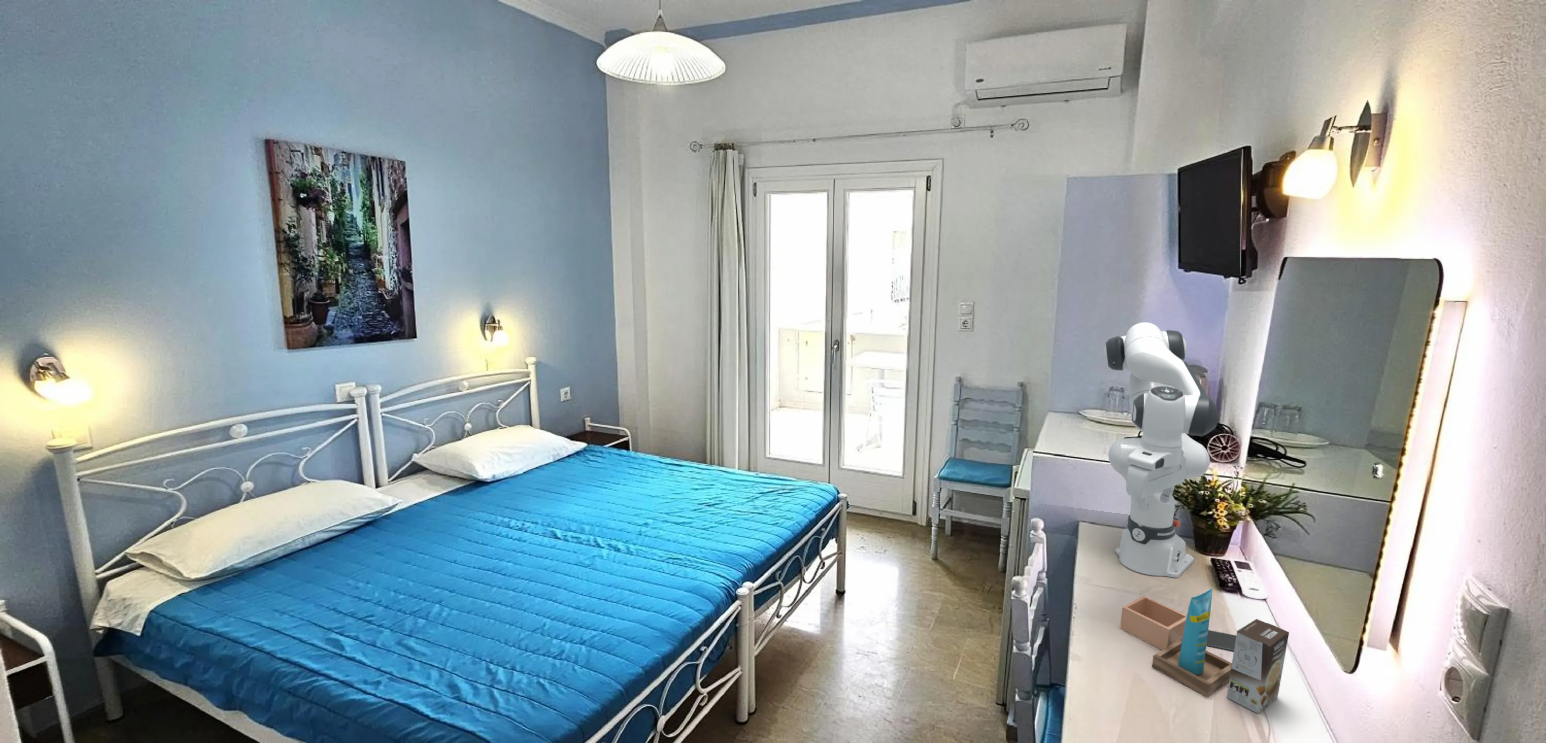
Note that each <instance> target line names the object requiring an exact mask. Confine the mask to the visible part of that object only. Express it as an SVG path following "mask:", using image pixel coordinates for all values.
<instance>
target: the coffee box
mask: <svg viewBox="0 0 1546 743" xmlns="http://www.w3.org/2000/svg"><path fill="white" fill-rule="evenodd" d="M1289 634H1290V631H1287V630H1285V629H1284V628H1281V627H1279V626H1276V625H1273V624H1272V623H1269V622H1265V621H1263V620H1260V619H1258V618H1256V619H1254V620H1252V621H1251V622H1249V623H1248V624H1246V625H1244V626H1243V627H1241V628H1239V629H1238V630H1236V634H1235V635H1236V641H1235V647H1234V652H1232V653H1233V654H1232V661H1231V663H1232V666H1231V672H1230V679H1229V682H1228V686H1227V692H1226V698H1227V699H1229V700H1231V701H1233V702H1235V703H1236V704H1239V705H1241V706H1243V707H1244V708H1246V709H1248V710H1250V711H1252V712H1254V713H1256V714H1260V711H1261V712H1262V711H1263V710H1264V709H1265V708H1267V707H1268V706H1270V703H1271V702H1272V703H1273V702H1275V701H1276V700H1277V699H1278V698H1279V693H1280V687H1281V681H1282V675H1283V669H1284V664H1285V658H1286V652H1287V647H1288V642H1289V636H1290V635H1289ZM1275 699H1276V700H1275ZM1272 703H1271V704H1272Z"/></svg>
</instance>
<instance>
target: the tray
mask: <svg viewBox="0 0 1546 743" xmlns="http://www.w3.org/2000/svg"><path fill="white" fill-rule="evenodd" d="M1181 645H1182V638H1181V639H1180V640H1178V641H1176V642H1175V643H1173V644H1171V645H1170V646H1168V647H1167V648H1165V649H1163V650H1160V651H1158V652H1156V653H1155V654H1154V655H1152V662H1151V664H1152V666H1151V668H1153V669H1155V670H1156V671H1158V672H1160V673H1162V674H1164V675H1166V676H1167V677H1169V678H1171V679H1173V680H1174V681H1177V682H1179V683H1181V684H1182V685H1184V686H1185V687H1187V688H1190V689H1191V690H1193V691H1195V692H1197V693H1198V694H1200V695H1202V696H1204V697H1206V698H1207V697H1209V696H1211V695H1212V694H1213V693H1214V692H1216V691H1217V690H1219V689H1220V688H1222V687H1223V686H1225V685H1226V684H1227V683H1229V679H1230V672H1231V666H1232V661H1229V660H1227V659H1224V658H1222V657H1221V656H1219V655H1216V654H1215V653H1212V652H1210V651H1208V650H1206V653H1205V661H1204V669H1203V673H1202V674H1200V675H1194V674H1193V673H1191V672H1189V671H1187V670H1185V669H1183V668H1181V667H1179V665H1178V662H1179V656H1180V651H1181Z"/></svg>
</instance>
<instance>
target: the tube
mask: <svg viewBox="0 0 1546 743" xmlns="http://www.w3.org/2000/svg"><path fill="white" fill-rule="evenodd" d="M1212 596H1213V587H1212V588H1209V589H1208V590H1205V591H1204V592H1203V593H1200V594H1198V595H1195V596H1192V597H1191V599H1190V601H1189V603H1188V604H1189V605H1188V608H1187V613H1186V615H1187V617H1186V623H1185V628H1184V634H1183V639H1182V645H1181V651H1180V656H1179V662H1178V665H1179V667H1181V668H1183V669H1185V670H1187V671H1189V672H1191V673H1193V674H1194V675H1200V674H1202V673H1203V669H1204V661H1205V653H1206V651H1207V646H1206V645H1207V636H1208V630H1209V628H1210V618H1211V611H1212V610H1211V608H1212Z"/></svg>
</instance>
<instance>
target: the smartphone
mask: <svg viewBox="0 0 1546 743" xmlns="http://www.w3.org/2000/svg"><path fill="white" fill-rule="evenodd" d="M1236 635H1237V634H1231V633H1226V632H1221V631H1217V630H1215V631H1214V630H1210V629H1208V636H1207V645H1206V647H1208V648H1213V649H1218V650H1223V651H1227V652H1231V653H1234V647H1235V641H1236Z"/></svg>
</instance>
